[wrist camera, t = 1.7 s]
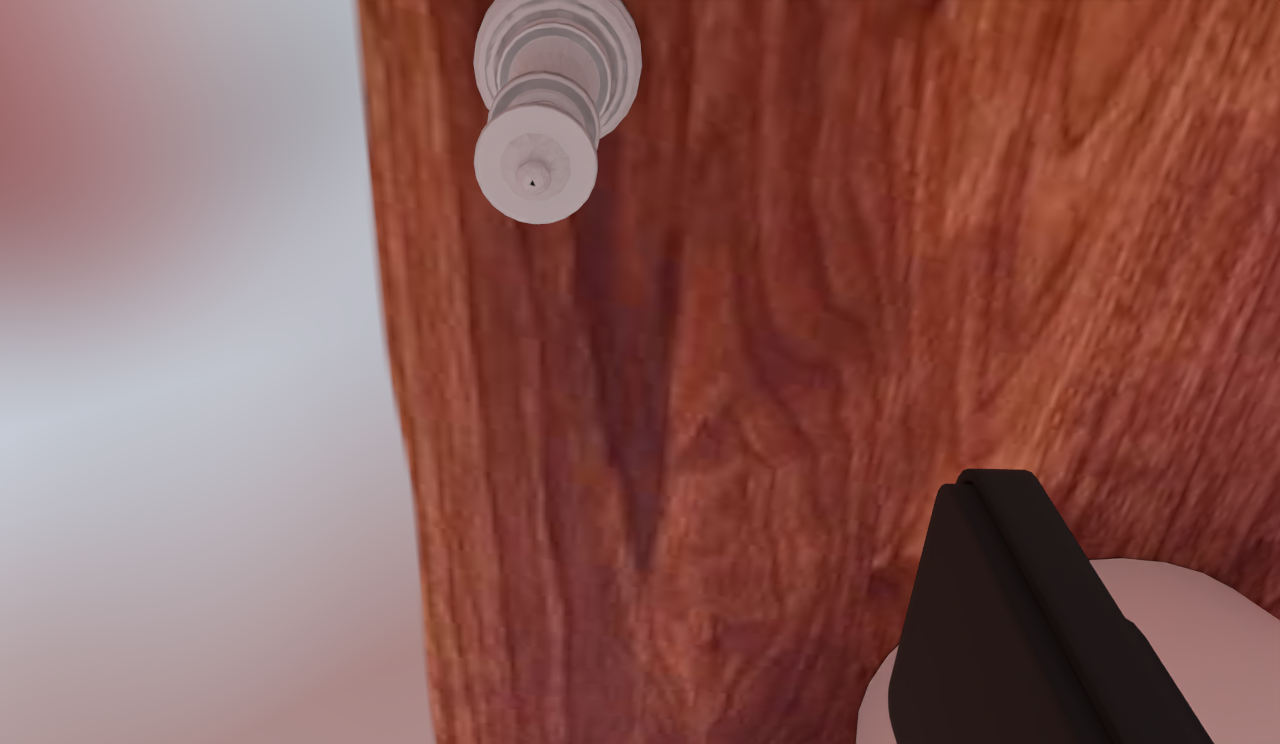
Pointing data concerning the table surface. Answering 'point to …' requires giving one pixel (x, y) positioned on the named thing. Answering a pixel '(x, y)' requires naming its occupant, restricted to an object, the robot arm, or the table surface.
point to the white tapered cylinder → (1173, 651)
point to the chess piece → (550, 100)
